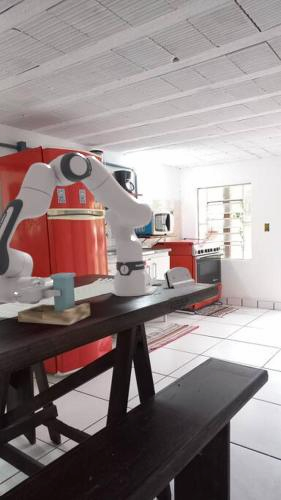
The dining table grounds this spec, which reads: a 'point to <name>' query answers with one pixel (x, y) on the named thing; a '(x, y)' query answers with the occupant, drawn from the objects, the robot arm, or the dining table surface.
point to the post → (64, 291)
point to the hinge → (178, 277)
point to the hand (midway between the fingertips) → (66, 291)
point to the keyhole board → (54, 314)
